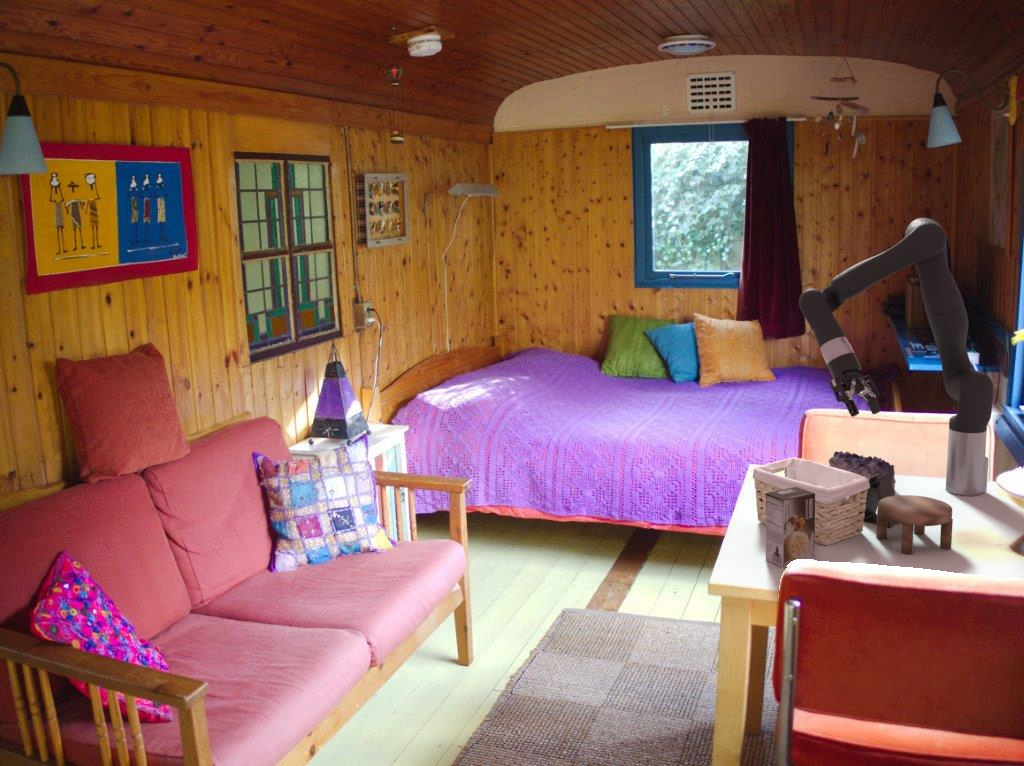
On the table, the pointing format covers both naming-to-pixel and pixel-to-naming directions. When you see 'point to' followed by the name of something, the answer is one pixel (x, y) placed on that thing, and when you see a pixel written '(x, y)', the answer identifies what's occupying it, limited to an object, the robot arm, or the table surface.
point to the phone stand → (878, 496)
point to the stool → (914, 518)
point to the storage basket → (818, 495)
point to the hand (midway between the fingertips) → (866, 414)
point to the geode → (862, 465)
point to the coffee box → (790, 525)
